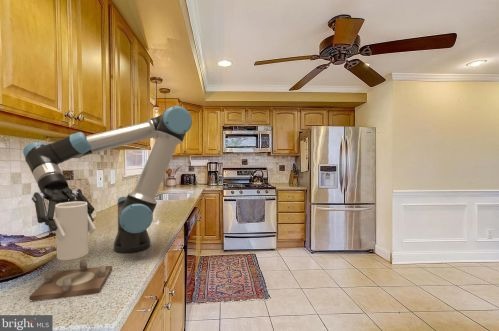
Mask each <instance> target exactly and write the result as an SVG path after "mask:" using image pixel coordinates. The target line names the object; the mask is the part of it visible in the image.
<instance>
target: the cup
mask: <svg viewBox="0 0 499 331" xmlns="http://www.w3.org/2000/svg"><path fill="white" fill-rule="evenodd" d="M54 217H55V218H57V220H58V221H59V223H60V225H61V227H62V229H63V231H64V233H65V237H64V238H63V240H62V241H59V240H58V238H57V236H56V235H55V237H56V238H55V242H56V245H55V246H56V259H57V260H61V261H67V260H69V261H70V260H75V259H79V258H82V257H85V256H87V254H89V231H88V212H87V202H80V201H78V202H66V203H58V204H56V205H55V212H54Z"/></svg>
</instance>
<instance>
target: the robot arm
mask: <svg viewBox="0 0 499 331" xmlns="http://www.w3.org/2000/svg"><path fill="white" fill-rule="evenodd" d="M192 125H193V118H192V115H191V113H190V112H189V110H187V109H186V108H185V107H183V106H179V105H174V106H171V107H168V108H167V109H166V110H165V111H164V112H163V113H161V114H160V115H158V116H155V117H152V118H148V120H147V121H145V122H140V123H136V124H131V125H128V126H123V127H120V128H115V129H111V130H107V131H102V132H99V133H93V134H90V135H86V136H85V134H84V133H83V132H82V131H77V132H76V133H71V134H70V135H68V136H65V137H63V138H61V139H59V140H56V141H53V142H51V143H46V142H43V141H37V142H35V141H33V142H30V143H28V144H26V145H25V147H23V150H22V153H23V156H24V159H25V163H26V164H27V165H28V167H29V170H30V171H31V173H32V176H33V179H35V183H36V184H37V187H38V189H39V190H40V193H39V192H37V191H36V192H33V195H32V197H31V200H32V201H33V202H34V207H35V213H36V219H37V222H38V223H39V224H42V223H44V225H45V226H47V227H48V228H49V230H50V231H51V232H54V234H55V237H56V236H57V238H58V240H59V241H62V240H63V238H64V237H65V233H64V231H63V229H62V227H61V225H60V223H59V221H58V220H57V218H56V217H55V205H57V204H60V203H66V202H78V201H80V202H87V212H88V234H89V235H92V234H93V233H94V232H95V231H96V226H95V224H94V221H95V220H94V217H93V216H92V215H93V213H94V211H95V210H96V209H95V207H94V206H93V205H92V204H91V202H90V201H89V200H88V198H87V197H86V196H85V195H84V194H83V191H82V189H81V188H78V189H77V190H72V189H71V188H70V187H69V183H68V181H67V179H66V177H65V175H64V172H63V171H62V170H61V168H60V166H59V164H63V163H65V162H67V161H69V160H72V159H79V158H82V157H85V156H89V155H92V154H96V153H99V152H103V151H108V150H111V149H115V148H119V147H122V146H123V147H124V146H126V145H130V144H134V143H139V142H142V141H145V140H149V139H154V140H155V141H154V144H153V146H152V149H151V151H150V153H149V155H148V157H147V160H146V162H145V165H144V168H143V169H142V172H141V174H140V176H139V178H138V181H137V182H136V185H135V188H134V189H133V191H131V192H129V193H128V194H127V196H120V197H118V198H117V202H116V203H117V233H116V237H115V240H114V242H113V251H114V252H115V253H120V254H123V253H124V254H127V253H128V254H130V253H131V254H132V253H137V252H141V251H143V250H144V251H145V250H147V249H148V248H150V247H151V238H150V236H149V233H148V230H147V229H149V228H150V226H151V224H152V222H153V218H154V211H155V209H156V206H157V204H158V202H157V200H156V197H157V195H158V192H159V189H160V187H161V184H162V183H163V180H164V178H165V175H166V173H167V171H168V168H169V165H170V163H171V160H172V159H173V156H174V155H175V154H174V153H175V151H176V148H177V146H178V145H181V144H183V140H184V139H185V136H186V134H187V133H188V132H189V130H191V128H192ZM44 200H47V201H48V205H47V206H48V207H47V212H46V210H45V204H44ZM46 213H47V214H46Z"/></svg>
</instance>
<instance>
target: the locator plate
mask: <svg viewBox="0 0 499 331" xmlns="http://www.w3.org/2000/svg"><path fill="white" fill-rule="evenodd" d="M112 271H113V266H112V265H100V266H95V267H88V261H87V259H84V260H83V259H82V260H80V261H79V268H76V269H67V270H58V271H54V273H53V271H52V270H47V271H45V272H44V274H43V277H44V280H43V281H44V282H43V283H42V284H41V285H40V286H39V287H37V288H36V289H35V290H34V291H33V292H32V293H31V294H30V295H29V298H28V299H29V301H30V300H40V301H43V300H42V299H48V300H53V299H52V298H55V299H61V297H63V298H69V297H77V296H79V297H80V296H85V295H86V296H87V295H95V294H99V293H101V291H102V289H103V286H104V285H105V283H106V282H107V279H108V278H109V276H110V274H111V273H112ZM110 272H111V273H110ZM50 298H51V299H50Z"/></svg>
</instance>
